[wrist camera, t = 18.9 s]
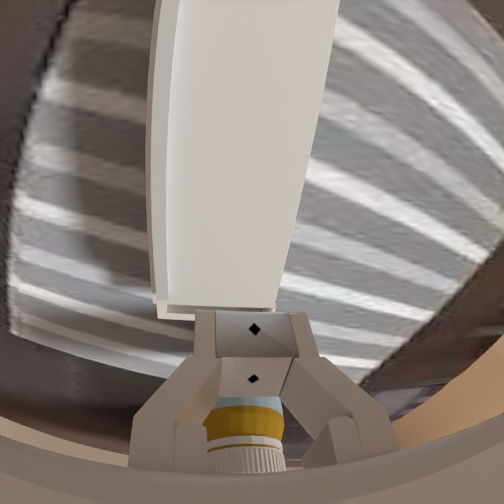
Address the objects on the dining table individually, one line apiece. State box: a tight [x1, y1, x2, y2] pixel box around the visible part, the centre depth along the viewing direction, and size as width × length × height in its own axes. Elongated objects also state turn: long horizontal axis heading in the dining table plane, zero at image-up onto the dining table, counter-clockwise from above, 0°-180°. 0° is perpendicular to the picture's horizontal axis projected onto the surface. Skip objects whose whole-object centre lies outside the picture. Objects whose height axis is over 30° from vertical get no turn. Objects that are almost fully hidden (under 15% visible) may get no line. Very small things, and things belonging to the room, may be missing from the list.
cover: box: [145, 0, 339, 308], centre depth 16 cm, size 20×8×1 cm, turn 172°
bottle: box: [202, 397, 286, 474], centre depth 24 cm, size 7×7×15 cm
